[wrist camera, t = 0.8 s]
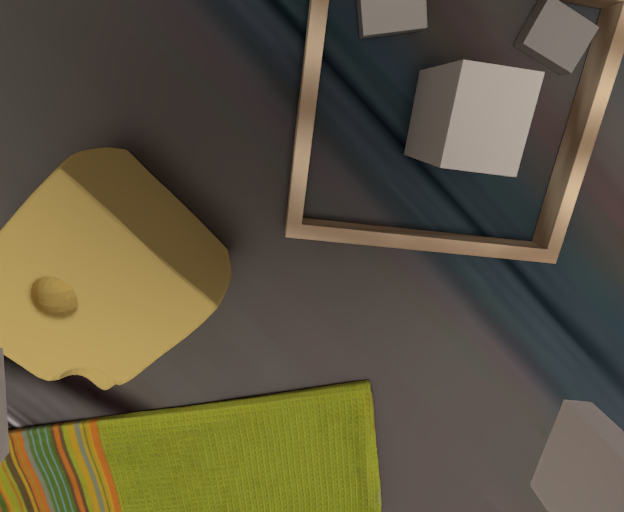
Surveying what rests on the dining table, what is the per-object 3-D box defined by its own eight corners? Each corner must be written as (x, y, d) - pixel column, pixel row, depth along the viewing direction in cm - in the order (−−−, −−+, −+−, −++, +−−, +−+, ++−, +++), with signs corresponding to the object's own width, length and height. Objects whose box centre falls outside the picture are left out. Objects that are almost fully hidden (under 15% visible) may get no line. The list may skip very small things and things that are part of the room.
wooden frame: (316, -62, 26) (319, -75, 24) (620, -7, 28) (645, -15, 26) (284, 229, 31) (285, 237, 29) (540, 254, 34) (555, 263, 32)
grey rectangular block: (535, 0, 28) (550, -5, 27) (582, 31, 29) (599, 27, 28) (510, 46, 29) (523, 43, 27) (556, 74, 30) (571, 73, 28)
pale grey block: (419, 70, 29) (463, 59, 22) (483, 79, 29) (544, 72, 23) (403, 154, 30) (439, 167, 24) (464, 162, 31) (515, 177, 24)
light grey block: (354, -13, 27) (359, -21, 26) (416, -21, 27) (425, -29, 26) (358, 39, 28) (363, 35, 26) (418, 32, 28) (427, 27, 27)
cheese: (142, 337, 33) (90, 427, 24) (23, 238, 30) (-92, 297, 21) (240, 249, 32) (226, 310, 22) (125, 135, 28) (51, 149, 19)
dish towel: (-67, 433, 35) (-99, 464, 32) (368, 371, 37) (377, 395, 34) (-1, 565, 40) (-23, 603, 37) (378, 506, 42) (386, 538, 39)
